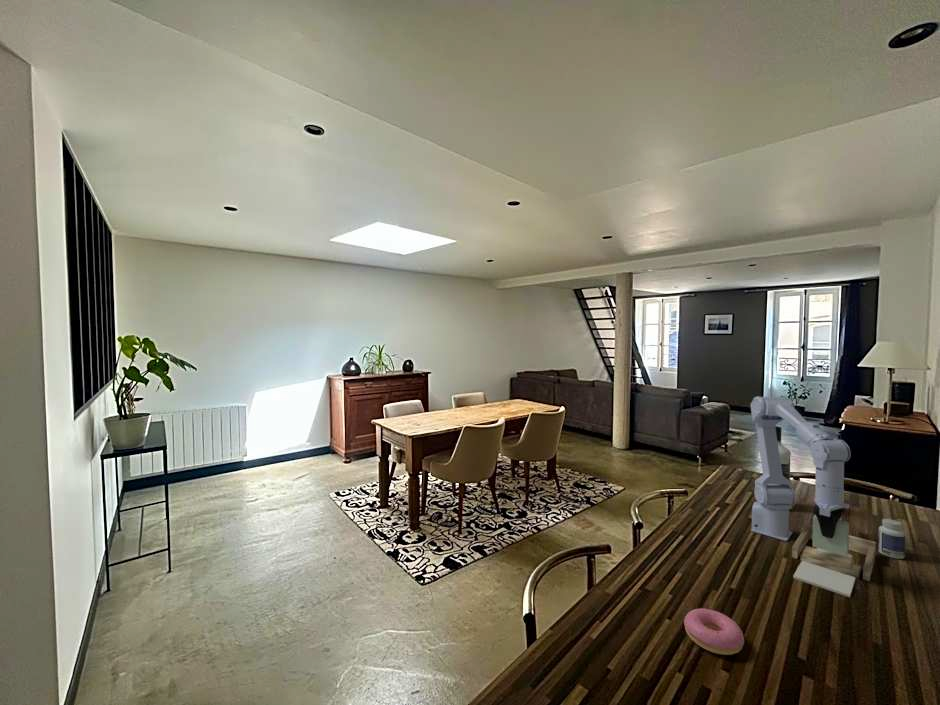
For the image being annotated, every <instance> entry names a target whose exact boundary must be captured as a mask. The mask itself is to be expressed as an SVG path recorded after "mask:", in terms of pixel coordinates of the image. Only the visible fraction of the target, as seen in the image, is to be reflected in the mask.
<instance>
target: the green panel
mask: <svg viewBox="0 0 940 705" xmlns="http://www.w3.org/2000/svg"><path fill="white" fill-rule="evenodd" d="M812 526H813V540H812V542H811V543H812V546H811V547H812V548H815V549H817V548H819V549H823V550H826V551H830V552H833V553H837V554H840V555H844V556H847V555H848V554H850V553H849V551H850V550H849V535H850V522H848V521H843V520H841V519H839V521H838V522H837V525H836V529H835V533H834V536H833V538H832V539H831V538H828V537H824V536H822V533H821V529H820V525H819V521H818V519H817V517H816V515H815V514H814V515H813V517H812Z"/></svg>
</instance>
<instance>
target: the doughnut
mask: <svg viewBox="0 0 940 705" xmlns="http://www.w3.org/2000/svg"><path fill="white" fill-rule="evenodd" d="M683 625H684V628H685V632H686V633H687V635H688V636H689V638H690V639H691V641H693V642H694V643H695V644H696V645H698V646H699V647H701V648H702V649H703V650H704V649H705V650H706V651H708V652H711V653H713V654H716V655H722V656H732V655H734V654H737V653H739V652H741V650H742V649H743V647H744V644H745V638H744V637H745V636H744V634H743V630H741V627H740V625H738V624H737V622H736V621H734V620H733V619H731V617H729V616H727V615H725V613H722V612H719V611H717V610H713V609H709V608H702V607H700V608H699V607H698V608H694V609H691V610H690V611H689V612H688V613H687V614H686V615H685V617H684V620H683Z"/></svg>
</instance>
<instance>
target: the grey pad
mask: <svg viewBox="0 0 940 705" xmlns="http://www.w3.org/2000/svg"><path fill="white" fill-rule="evenodd" d="M800 561H801V562H800V563H799V564H798V567H797V569H796V570H795V572H794V574H793V575H792V576H793V577H792V578H793V579H795V580H798V581H800V582H803V583H805V584H809V585H812V586H815V587H818V588H821V589H824V590H827V591H830V592H834V593H835V594H839V595H842V596H844V597H847V598H851V596H852V593H853V590H854V586H855V583H856V577H853V576H850V575H847V574H844V573H840V572H837V571H834V570H831V569H828V568H824V567H821V566H818V565H815V564H812V563H808V562H805V561H802V560H800Z"/></svg>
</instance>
